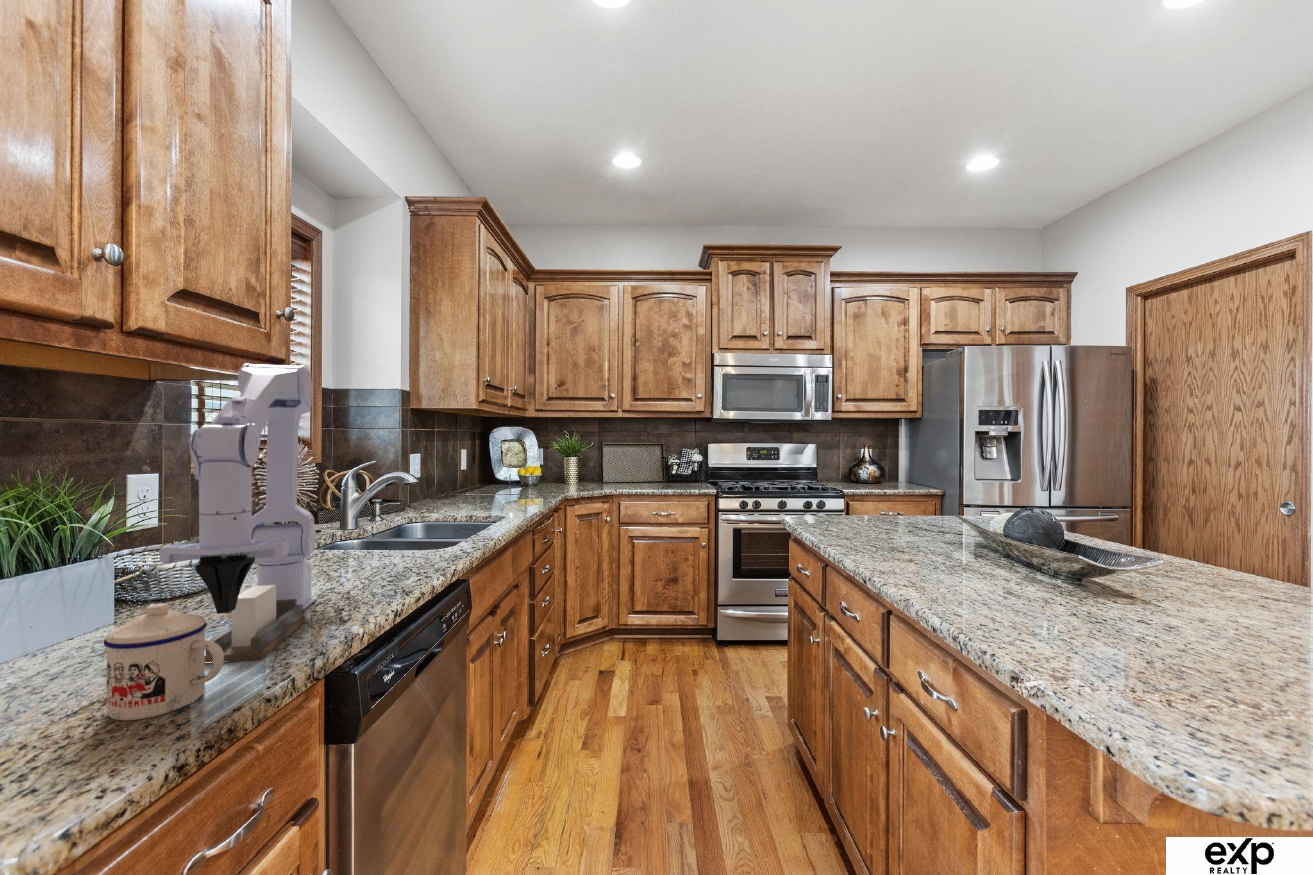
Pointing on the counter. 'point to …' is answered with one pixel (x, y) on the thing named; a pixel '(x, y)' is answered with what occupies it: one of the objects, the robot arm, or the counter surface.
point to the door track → (262, 634)
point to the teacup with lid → (157, 663)
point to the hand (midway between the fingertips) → (226, 611)
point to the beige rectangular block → (252, 613)
